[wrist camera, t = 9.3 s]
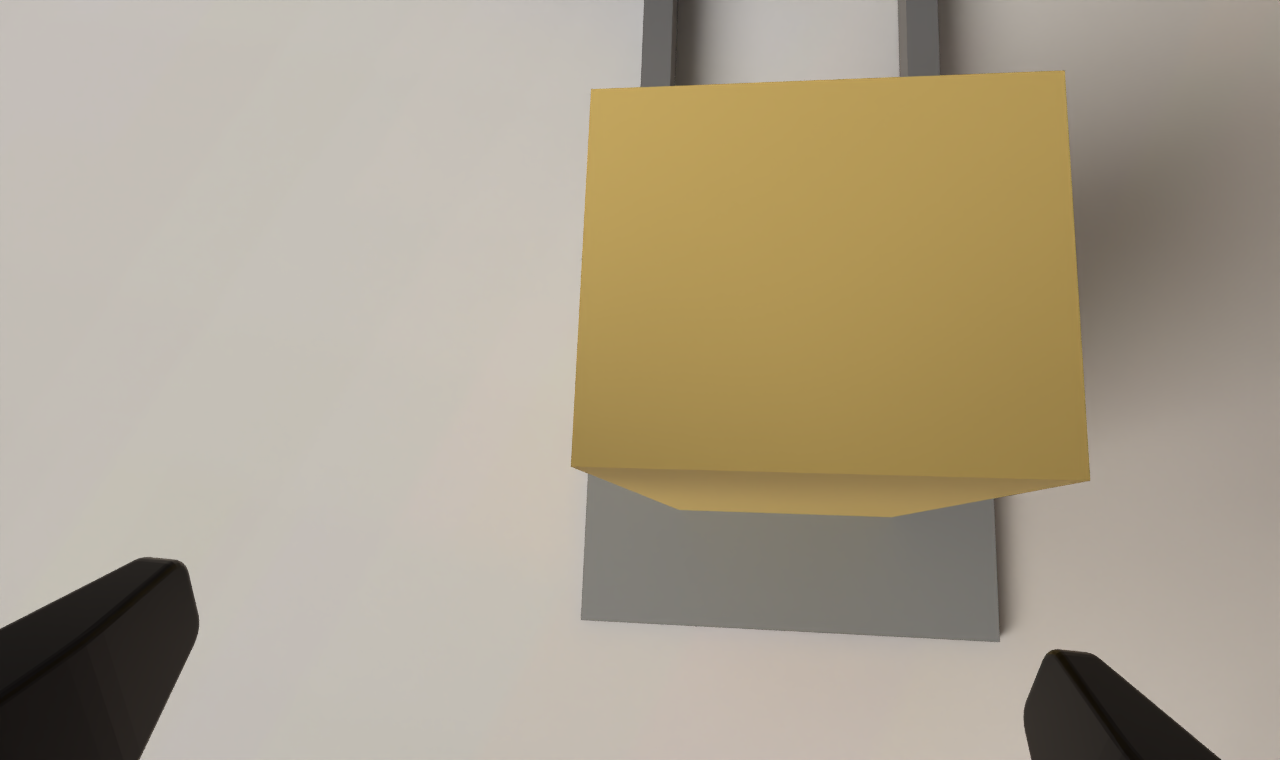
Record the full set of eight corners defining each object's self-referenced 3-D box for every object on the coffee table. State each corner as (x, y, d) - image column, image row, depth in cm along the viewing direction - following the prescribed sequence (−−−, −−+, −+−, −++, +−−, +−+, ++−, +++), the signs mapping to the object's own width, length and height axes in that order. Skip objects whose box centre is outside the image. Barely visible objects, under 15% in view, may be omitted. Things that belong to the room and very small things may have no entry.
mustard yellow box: (891, 517, 20) (1090, 480, 8) (679, 509, 21) (570, 466, 9) (888, 341, 21) (1065, 70, 9) (684, 340, 22) (591, 88, 10)
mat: (995, 640, 20) (1000, 642, 19) (584, 618, 21) (581, 619, 21) (978, 241, 22) (982, 235, 21) (601, 246, 23) (599, 241, 23)
